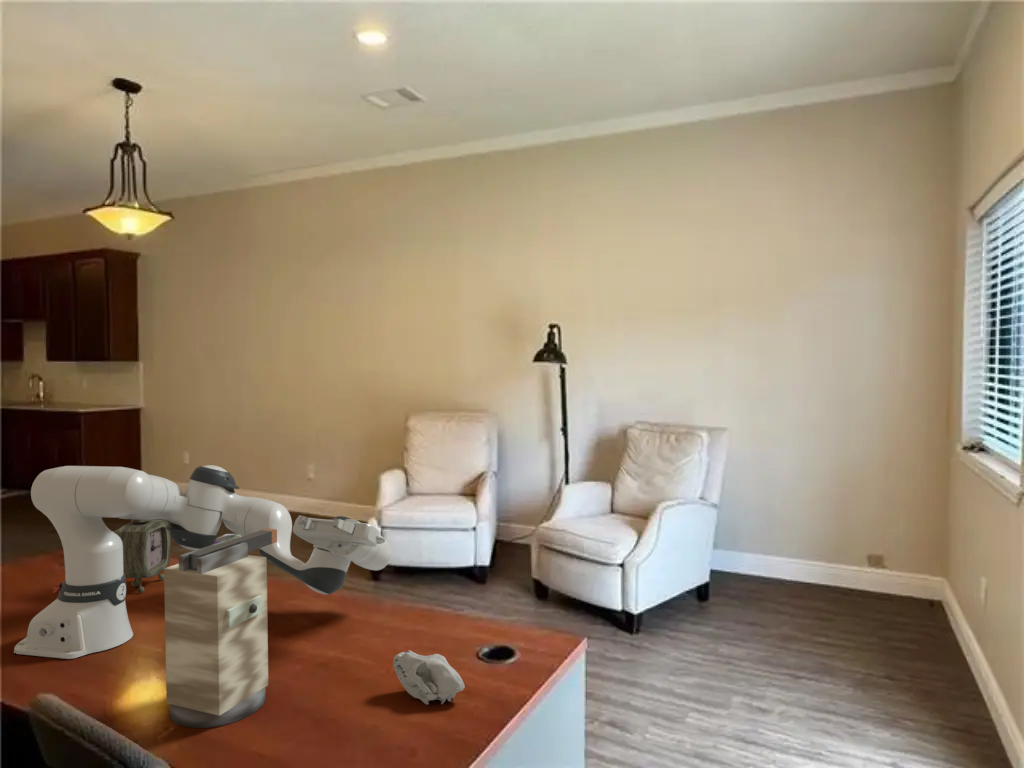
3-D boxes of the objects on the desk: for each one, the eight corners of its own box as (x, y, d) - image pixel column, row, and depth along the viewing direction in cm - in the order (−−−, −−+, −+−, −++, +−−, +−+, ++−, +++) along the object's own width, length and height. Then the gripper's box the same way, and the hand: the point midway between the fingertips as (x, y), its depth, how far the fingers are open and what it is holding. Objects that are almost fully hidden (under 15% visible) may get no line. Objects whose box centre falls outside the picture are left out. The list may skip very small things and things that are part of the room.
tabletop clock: (143, 595, 184) (141, 501, 183) (109, 595, 184) (107, 501, 183) (171, 578, 198) (169, 491, 197) (139, 578, 198) (138, 491, 197)
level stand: (219, 735, 115) (217, 565, 114) (148, 717, 121) (145, 555, 120) (284, 692, 130) (282, 541, 129) (218, 678, 136) (215, 533, 135)
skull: (455, 698, 122) (406, 641, 125) (424, 729, 125) (377, 673, 128) (476, 675, 130) (429, 621, 133) (447, 704, 133) (401, 651, 136)
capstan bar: (200, 569, 120) (199, 555, 120) (189, 568, 121) (188, 553, 121) (277, 541, 138) (276, 529, 138) (267, 540, 139) (266, 528, 139)
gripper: (384, 556, 158) (354, 539, 146) (310, 548, 165) (275, 530, 154) (391, 529, 160) (362, 510, 149) (318, 522, 168) (284, 503, 156)
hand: (317, 520), depth 151 cm, fingers open, 8 cm apart
